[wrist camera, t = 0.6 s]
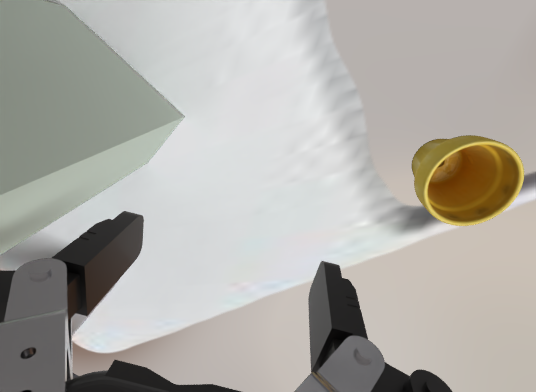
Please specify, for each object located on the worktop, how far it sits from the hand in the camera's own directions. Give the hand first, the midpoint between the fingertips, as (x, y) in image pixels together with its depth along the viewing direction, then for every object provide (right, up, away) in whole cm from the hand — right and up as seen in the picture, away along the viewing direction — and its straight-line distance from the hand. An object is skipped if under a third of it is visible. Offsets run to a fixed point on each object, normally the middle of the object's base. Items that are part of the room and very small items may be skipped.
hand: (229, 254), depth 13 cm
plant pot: (+26, +8, +28) cm, 39 cm away
